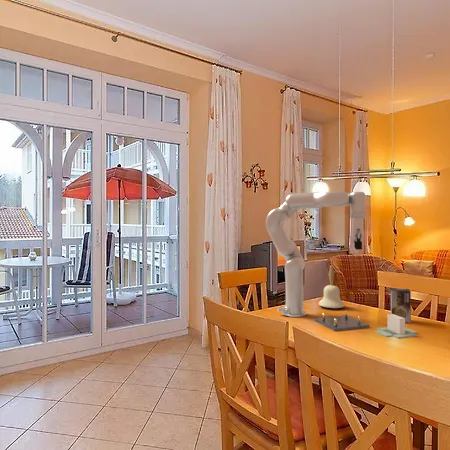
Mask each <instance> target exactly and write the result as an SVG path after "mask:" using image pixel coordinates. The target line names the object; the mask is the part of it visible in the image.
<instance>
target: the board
mask: <svg viewBox="0 0 450 450" xmlns="http://www.w3.org/2000/svg"><path fill="white" fill-rule="evenodd" d="M386 316H387V317H386V318H387V322H386V323H387V326H386V327H385V326H384V327H377V328H376V330H374V333H377V334H378V335H380V334H381V335H380V336H383V337H385V338H390V337H394V338H396V339H404V338H412V337H413V338H414V337H417V334H419V333H418V331H415V330H413V329H411V328H408V327H406V322H405V318H403V317H400V316H397V315H394V314H391V313H390V314H389V313H388V314H387V315H386ZM377 329H378V330H377Z"/></svg>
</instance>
